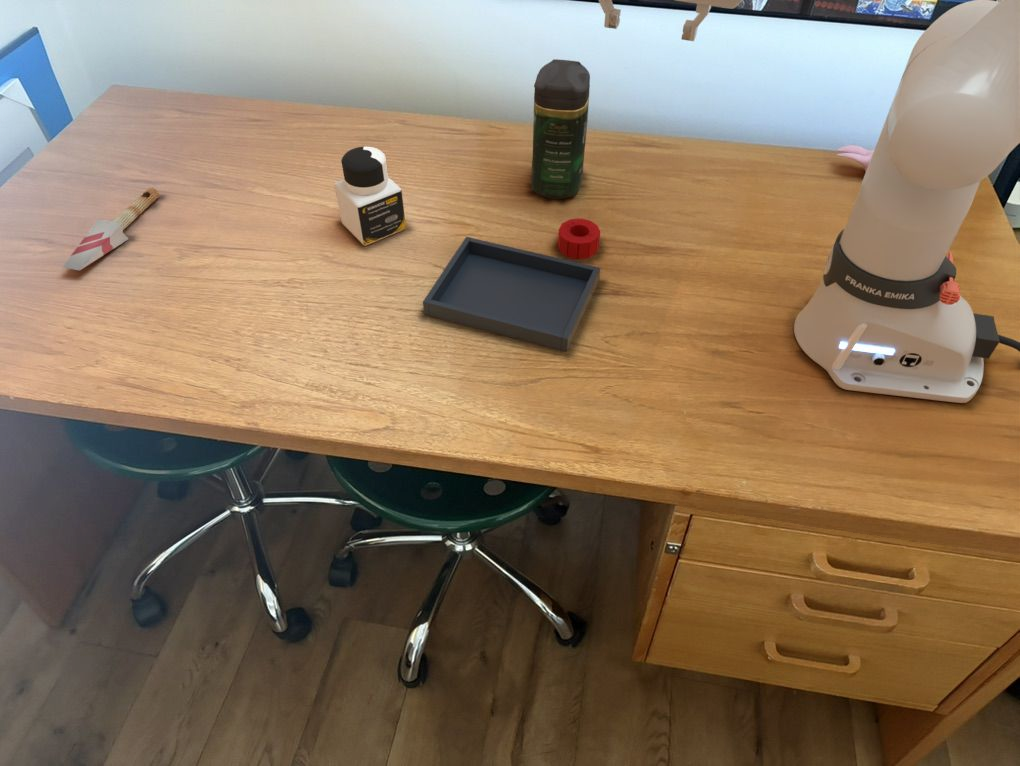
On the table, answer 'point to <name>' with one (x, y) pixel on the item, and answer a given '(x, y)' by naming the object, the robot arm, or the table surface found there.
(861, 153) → the rabbit figure
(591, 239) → the ring
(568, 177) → the coffee jar
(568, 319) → the tray
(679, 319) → the table surface
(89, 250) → the garden trowel
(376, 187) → the medicine bottle
